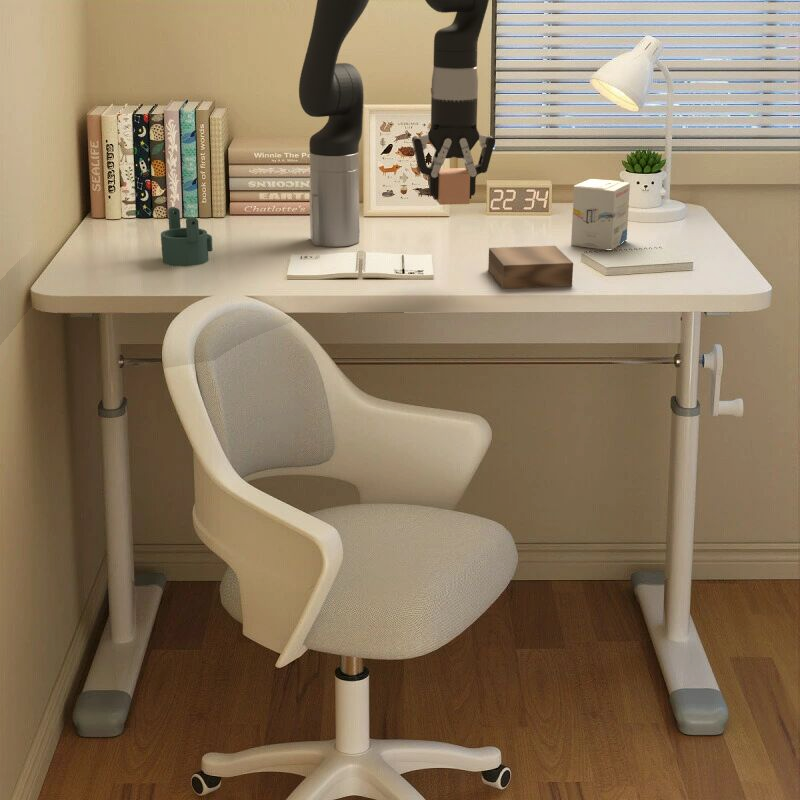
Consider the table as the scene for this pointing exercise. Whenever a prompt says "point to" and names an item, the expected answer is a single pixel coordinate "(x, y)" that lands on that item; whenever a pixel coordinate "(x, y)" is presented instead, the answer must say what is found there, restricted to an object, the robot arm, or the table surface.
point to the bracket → (184, 242)
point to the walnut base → (530, 267)
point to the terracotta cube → (453, 186)
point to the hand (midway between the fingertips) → (452, 197)
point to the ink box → (600, 213)
